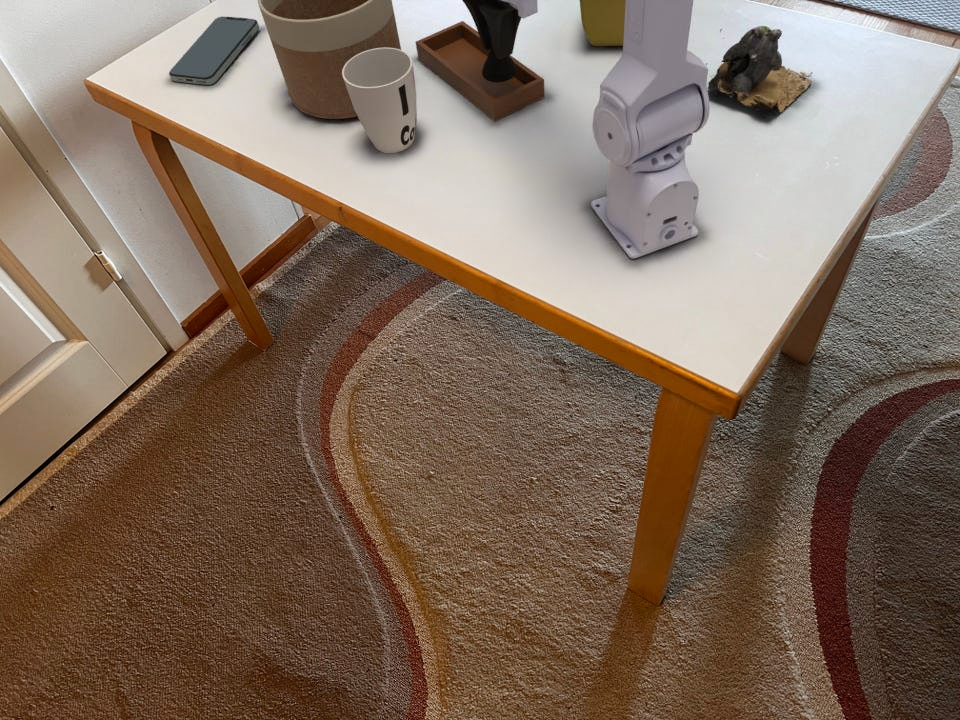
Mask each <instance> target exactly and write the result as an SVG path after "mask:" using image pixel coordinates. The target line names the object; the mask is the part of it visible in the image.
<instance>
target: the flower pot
mask: <svg viewBox="0 0 960 720" xmlns="http://www.w3.org/2000/svg"><path fill="white" fill-rule="evenodd" d="M625 6H626V0H579V9H580V19H581V24H582V29H583V32H584V34H585V36H586V38H587V40H588V41H589V43H590V44H591V45H592V46H594V47H611V46H612V47H615V46H616V47H617V46H618V47H620V46H622V47H623V43H624V25H625Z"/></svg>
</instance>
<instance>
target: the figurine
mask: <svg viewBox="0 0 960 720" xmlns="http://www.w3.org/2000/svg"><path fill="white" fill-rule="evenodd" d="M747 30H748V31H747V32H745V34H744V35H743V36H741V38H740V39H739V41H738V42H736V43H735V44H733V45H732V46H731V47H730V48H728V49H727V51H726V52H725V53H724V55H723V56H722V60H721V64H720V65H719V67H718V68H717V69H716V74H715V75H714V74H712V76H710V78H711V79H710V80H709V81H708V82H707V90H715V91H717V92H716V94H715V98H717V97H718V96H717V94H719V92H721V93H725V94H726V95H728V97H730V98H733V97H734V93H736V98H737V99H736V100H737V101H738V103H739V102H740V103H741V104H742V105H744V106H746V107H749V108H752V110H753V111H754V110H756V111H761V110H762V111H763V110H764V111H766V110H771V109H772V110H773V111H774V112H775V114H777V113H783V111H784V109H785V108H786V107H788V106H790V104H792V103H793V102H794V101H795V100H796V98H798V97H799V95H801V94H802V93H803V92H805V91H806V90H807V89H808V88H809V87H812V83H813V80H812V79H808V78H810V77H812V75H813V73H814V72H813V71H810V73H808V74H807V73H806V72H804V71H800V72H797V71H795V70H793V69H791V67H789V68H786V66H784V65H783V58H782V54H781V52H780V51H779V40H780V38H781V37H782V36H783V35H782V34H783V31H782V30H781V29H780V28H776V29H771V28H770V27H768V26H767V25H766V26H765V25H760V26H759V25H758V26H756V27H752V28H751V29H749V28H747ZM721 31H723V28H721V29H720V30H719V32H721ZM723 39H725V38H724V37H723ZM705 65H706V66H707V65H708V63H705ZM762 119H765V116H763V117H762Z"/></svg>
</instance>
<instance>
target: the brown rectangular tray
mask: <svg viewBox="0 0 960 720" xmlns="http://www.w3.org/2000/svg"><path fill="white" fill-rule="evenodd" d="M415 47H416V53H417V60H419V61H420V62H421V63H422V64H424V65H425V66H426V67H428V68H429V69H430V70H431V71H432V72H434V74H436V75H437V76H438V77H440V78H441V79H442V80H443V81H444V82H446V83H447V84H448V85H449V86H450V87H452V88H453V89H454V90H455V91H457V92H458V93H459V94H460V95H461V96H463V97H464V98H465V99H466V100H468V101H469V102H470V103H471V104H472V105H474V106H475V107H476V108H477V109H479V110H480V111H481V112H482V113H484V114H485V115H486V116H487V117H489V118H490V119H491V120H492V121H493V122H495V123H496V122H498V121H499V120H502V119H504V118H506V117H507V116H510V115H512V114H513V113H515V112H518V111H521V110H522V109H524V108H526V107H528V106H530V105H532V104H534V103H536V102H538V101H540V100H542V99H544V98H545V95H546V94H545V79H544V78H543V77H541V76H540V75H539V74H538V73H536V72H535V71H533V70H532V69H530V68H529V67H527V65H526V64H523V63H522V62H521V61H519V60H518V59H517V58H515V57H514V56H513V55H512V54H511V55H509V56H510V57H511V59H512V60H513V62H514V64H515V65H516V68H517V72H516V75H515V76H514V77H513V78H512V79H510V80H508V81H505V82H490V81H487V80H486V79H484V77H483V76H482V69H483V66H484V63H485V61H486V59H487V57H488V54H489V51H490V49H489V50H485V49H484V47H483V45H482V42H481V39H480V36H479V33H478V30H477V29H475V28H473V27H472V26H470V25H469V24H468V23H466V21H464V20H462V21H459V22H457V23H455V24H453V25H450V26H448V27H446V28H443V29H440V30H439V31H436V32H433V33H432V34H429V35H428V36H425V37H423V38H420V39H419V40H416V41H415Z"/></svg>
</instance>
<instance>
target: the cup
mask: <svg viewBox="0 0 960 720" xmlns="http://www.w3.org/2000/svg"><path fill="white" fill-rule="evenodd" d="M413 65H414V64H413V59H412V57H411V55H410V54H409V53H407V52H406V51H404V50H402V49H401V50H400V49H396V48H375V49H370V50H367V51H364V52H361V53H359V54H357V55H355V56H354V57H352V58H351V59H350V60H349V61H348V62H347V63H346V64H345V65H344V67H343V70H342V76H343V79H344V81H345V84H346V87H347V90H348V93H349V96H350V99H351V101H352V104H353V107H354V109H355V112H356V114H357V116H356V117H357V118H358V120H359V122H360V124H361V126H362V128H363V130H364V133H365V134H366V135H367V137H368V138H369V140H370V141H371V143H372V144H373V145H374V147H375V148H376V149H377V150H378V151H379V152H382V153H386V154H395V153H400V152H403V151H405V150H406V149H408V148H410V146H412V145H413V143H414V141H415V135H416V129H417V122H418V118H417V117H418V115H417V114H418V113H417V104H418V103H417V88H416V81H415V72H414V66H413Z"/></svg>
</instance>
